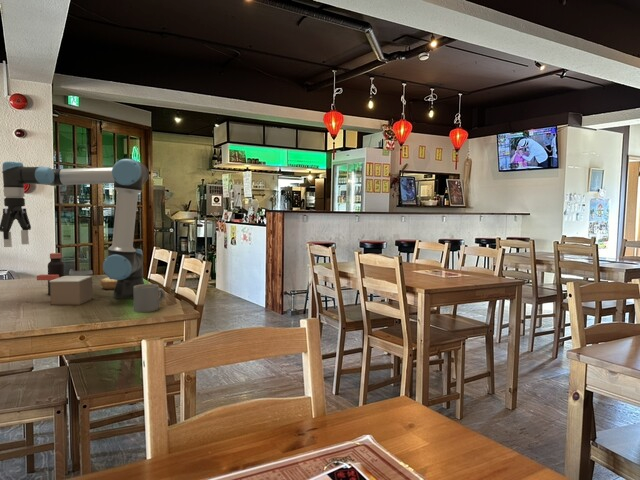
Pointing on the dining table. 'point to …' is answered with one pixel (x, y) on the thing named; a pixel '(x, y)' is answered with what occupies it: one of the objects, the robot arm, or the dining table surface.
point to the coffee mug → (147, 297)
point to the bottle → (55, 267)
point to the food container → (81, 273)
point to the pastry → (108, 283)
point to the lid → (62, 278)
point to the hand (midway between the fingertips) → (16, 245)
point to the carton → (71, 292)
